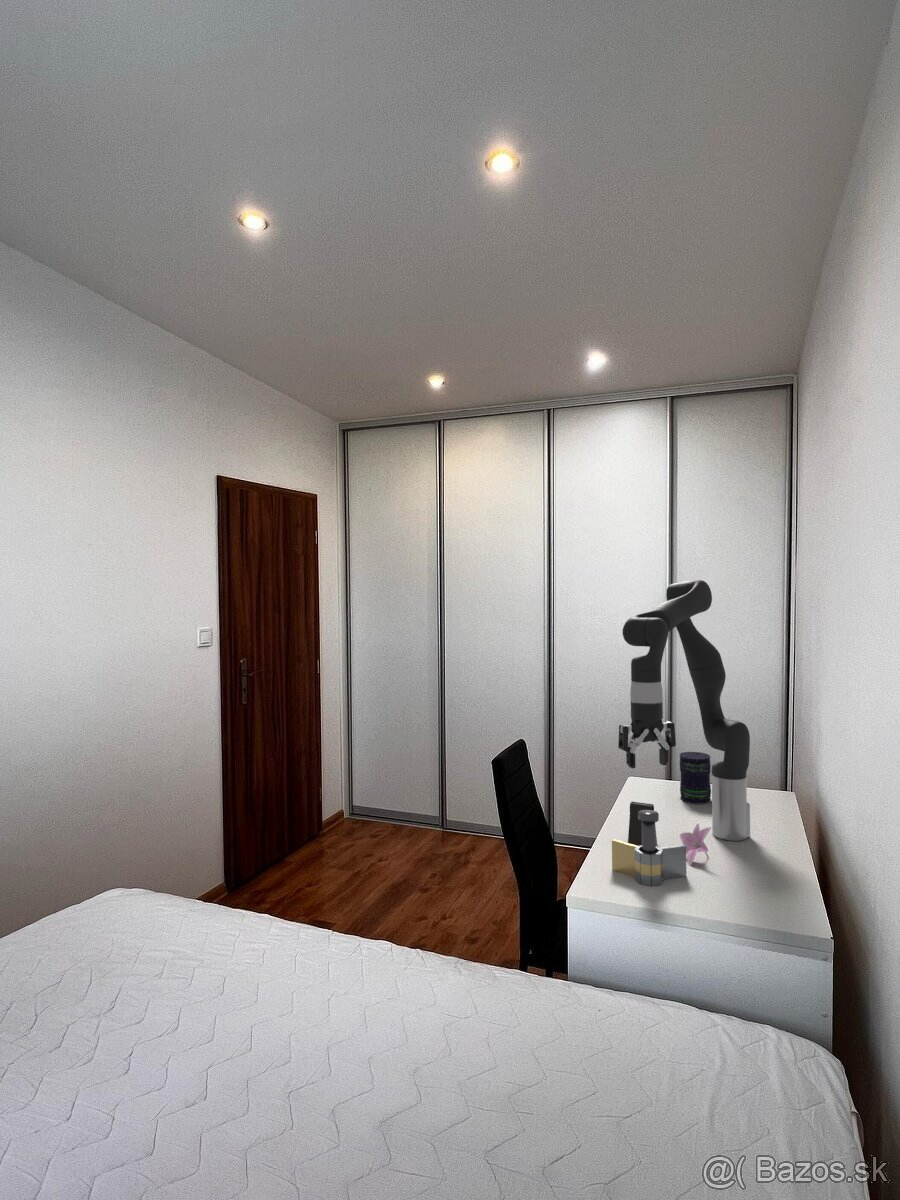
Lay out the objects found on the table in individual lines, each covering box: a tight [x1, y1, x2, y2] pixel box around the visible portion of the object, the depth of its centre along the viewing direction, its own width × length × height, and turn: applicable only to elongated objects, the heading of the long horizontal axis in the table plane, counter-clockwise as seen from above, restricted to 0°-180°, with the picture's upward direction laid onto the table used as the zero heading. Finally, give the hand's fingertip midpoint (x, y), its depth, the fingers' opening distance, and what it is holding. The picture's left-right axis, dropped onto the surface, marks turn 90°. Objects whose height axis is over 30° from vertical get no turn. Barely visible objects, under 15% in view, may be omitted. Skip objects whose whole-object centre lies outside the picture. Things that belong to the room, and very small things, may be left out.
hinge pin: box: [638, 810, 660, 854], centre depth 164 cm, size 5×5×16 cm
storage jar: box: [679, 751, 712, 805], centre depth 227 cm, size 10×10×15 cm
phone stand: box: [627, 801, 658, 846], centre depth 186 cm, size 9×6×12 cm, turn 150°
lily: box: [679, 822, 712, 867], centre depth 177 cm, size 11×11×9 cm
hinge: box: [611, 838, 687, 887], centre depth 168 cm, size 15×12×8 cm
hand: (647, 766), depth 164 cm, fingers open, 8 cm apart
